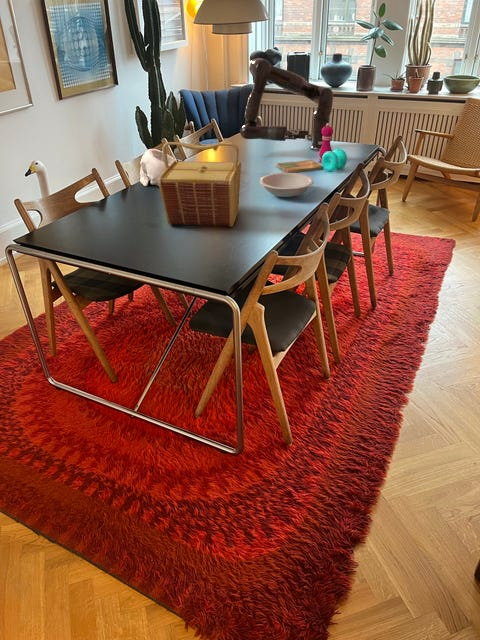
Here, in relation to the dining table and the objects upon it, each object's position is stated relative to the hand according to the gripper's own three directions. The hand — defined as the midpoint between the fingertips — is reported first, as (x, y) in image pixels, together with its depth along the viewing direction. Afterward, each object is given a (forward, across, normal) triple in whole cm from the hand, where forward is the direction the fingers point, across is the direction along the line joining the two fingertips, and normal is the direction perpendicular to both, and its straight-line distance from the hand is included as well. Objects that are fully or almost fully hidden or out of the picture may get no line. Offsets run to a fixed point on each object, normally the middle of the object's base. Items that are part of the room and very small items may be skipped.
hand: (306, 134), depth 255 cm
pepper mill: (+11, 0, +14) cm, 18 cm away
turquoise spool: (+18, -14, +14) cm, 26 cm away
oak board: (0, -14, +14) cm, 20 cm away
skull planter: (-61, -58, +14) cm, 85 cm away
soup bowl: (+2, -57, +14) cm, 59 cm away
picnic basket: (-23, -94, +14) cm, 98 cm away
